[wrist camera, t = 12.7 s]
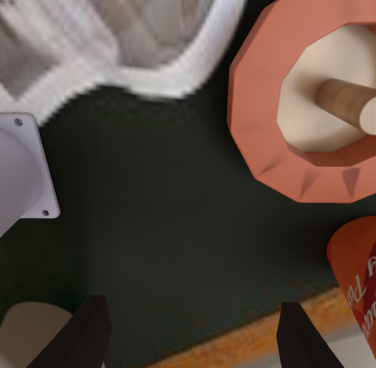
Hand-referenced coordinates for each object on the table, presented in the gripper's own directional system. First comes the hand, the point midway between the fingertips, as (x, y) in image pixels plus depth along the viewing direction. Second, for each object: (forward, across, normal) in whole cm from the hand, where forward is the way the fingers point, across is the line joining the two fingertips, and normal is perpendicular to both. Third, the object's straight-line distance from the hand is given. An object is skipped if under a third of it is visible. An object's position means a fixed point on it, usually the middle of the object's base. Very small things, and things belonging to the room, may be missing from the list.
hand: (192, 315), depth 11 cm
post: (+11, -8, -7) cm, 15 cm away
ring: (+10, -8, -7) cm, 14 cm away
